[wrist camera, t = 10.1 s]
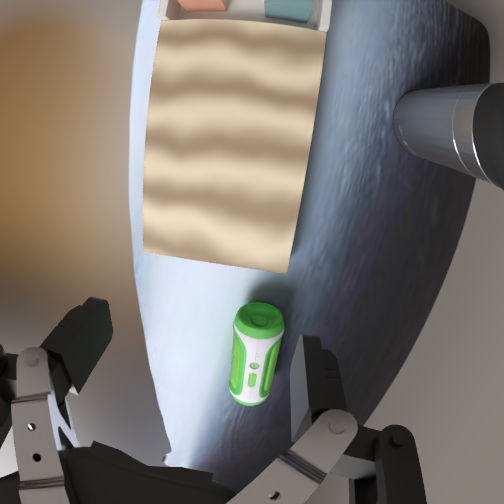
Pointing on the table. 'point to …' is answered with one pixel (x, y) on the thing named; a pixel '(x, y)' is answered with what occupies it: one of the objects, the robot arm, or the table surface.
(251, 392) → the speaker
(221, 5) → the terracotta tile
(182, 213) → the wooden tray board
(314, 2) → the box
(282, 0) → the teal tile
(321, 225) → the table surface
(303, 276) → the table surface
